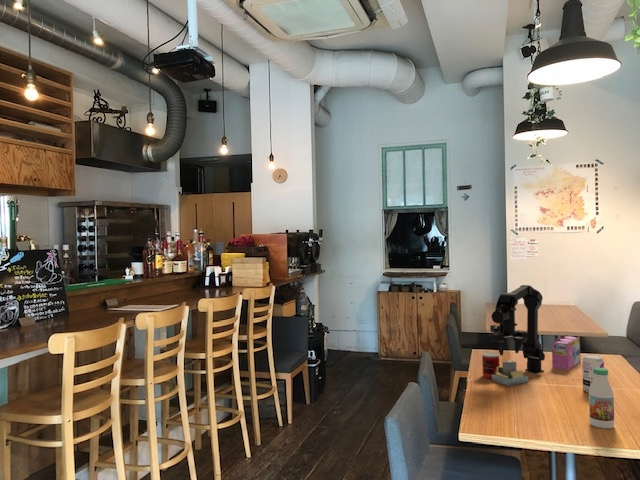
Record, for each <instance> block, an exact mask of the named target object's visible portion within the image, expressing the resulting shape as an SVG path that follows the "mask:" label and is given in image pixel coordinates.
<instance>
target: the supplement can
mask: <svg viewBox="0 0 640 480" xmlns="http://www.w3.org/2000/svg"><path fill="white" fill-rule="evenodd" d="M581 360H582V363H581V364H582V365H581V366H582V390H583V391H584V392H585V391H586V392H585V393H587V392H588V393H587V394H589V389H590V386H591V384H592V382H593V379H594V375H593V374H594V373H593V369H594V368H605V360H604V359H603V357H602V356H600V355H595V354H594V355H593V354H585V355H583V357H582V359H581Z"/></svg>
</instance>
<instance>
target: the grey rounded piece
mask: <svg viewBox="0 0 640 480" xmlns="http://www.w3.org/2000/svg"><path fill="white" fill-rule="evenodd" d="M502 366H503V374H504V375H508V376H509V377H511V371H517V370H518V369H517V362H516V361H514V360H503V361H502Z"/></svg>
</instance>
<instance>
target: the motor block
mask: <svg viewBox="0 0 640 480" xmlns="http://www.w3.org/2000/svg"><path fill="white" fill-rule="evenodd" d="M528 380H529V379H528V375H525V373H524V371H523V370H522V369H519V370H518V369H517V371H511V377H509V376H508V375H504V374H503V365H502V366H501V365H499V367H497V372H496V374H492V379H491V381H493V382H495V383H498V384H501V385H504V386H507V387H509V386H516V385H521V384H527V383H528V384H529V381H528Z"/></svg>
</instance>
